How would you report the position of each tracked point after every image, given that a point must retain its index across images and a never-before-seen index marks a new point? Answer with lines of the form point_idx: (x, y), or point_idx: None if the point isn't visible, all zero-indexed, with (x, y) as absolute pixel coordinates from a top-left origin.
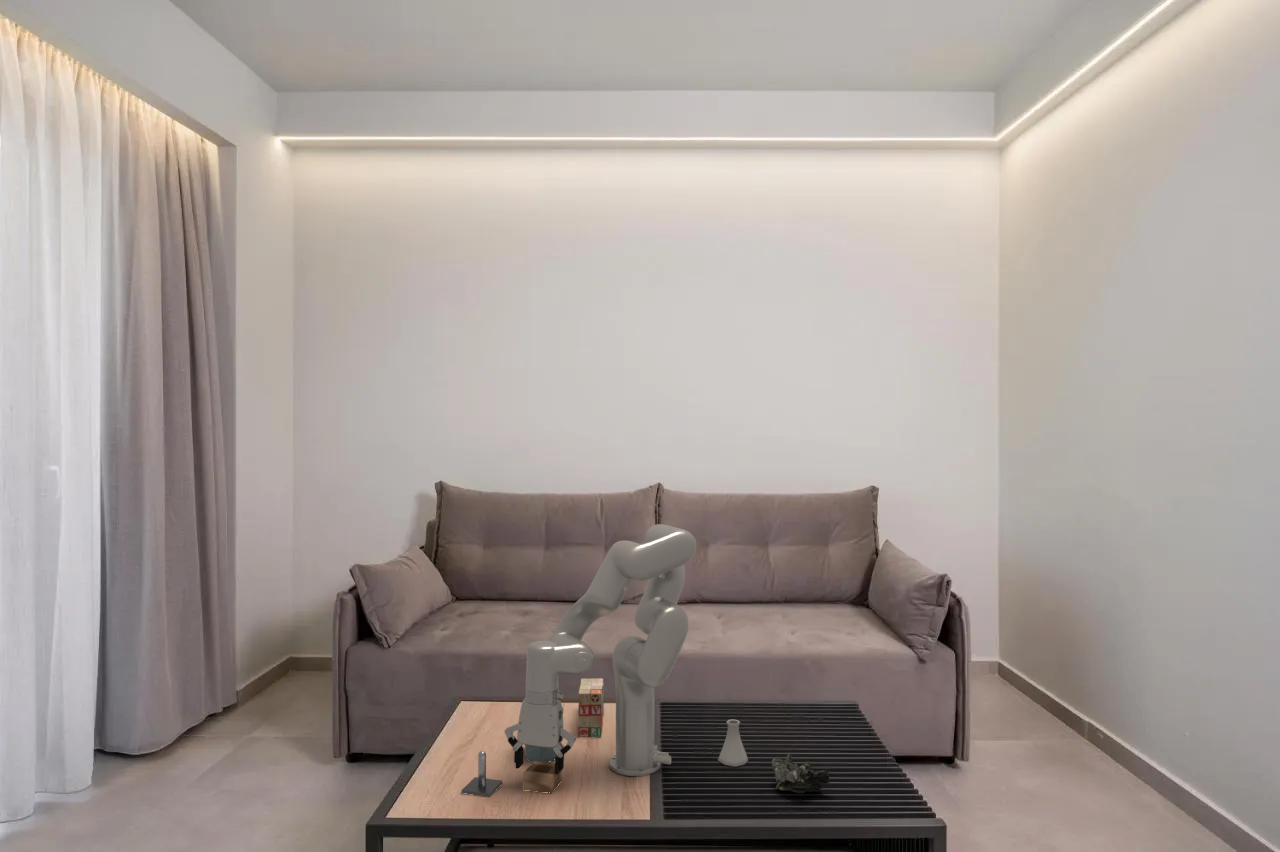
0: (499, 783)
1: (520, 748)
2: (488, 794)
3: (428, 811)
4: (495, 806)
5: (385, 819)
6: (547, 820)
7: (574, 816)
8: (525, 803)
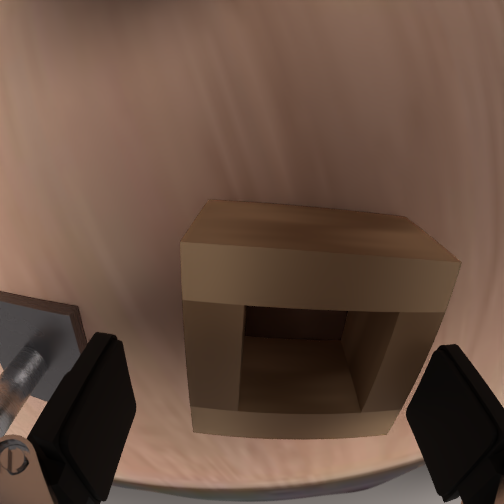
0: (77, 345)
1: (77, 495)
2: None
3: None
4: (166, 451)
5: None
6: (360, 478)
7: None
8: None
